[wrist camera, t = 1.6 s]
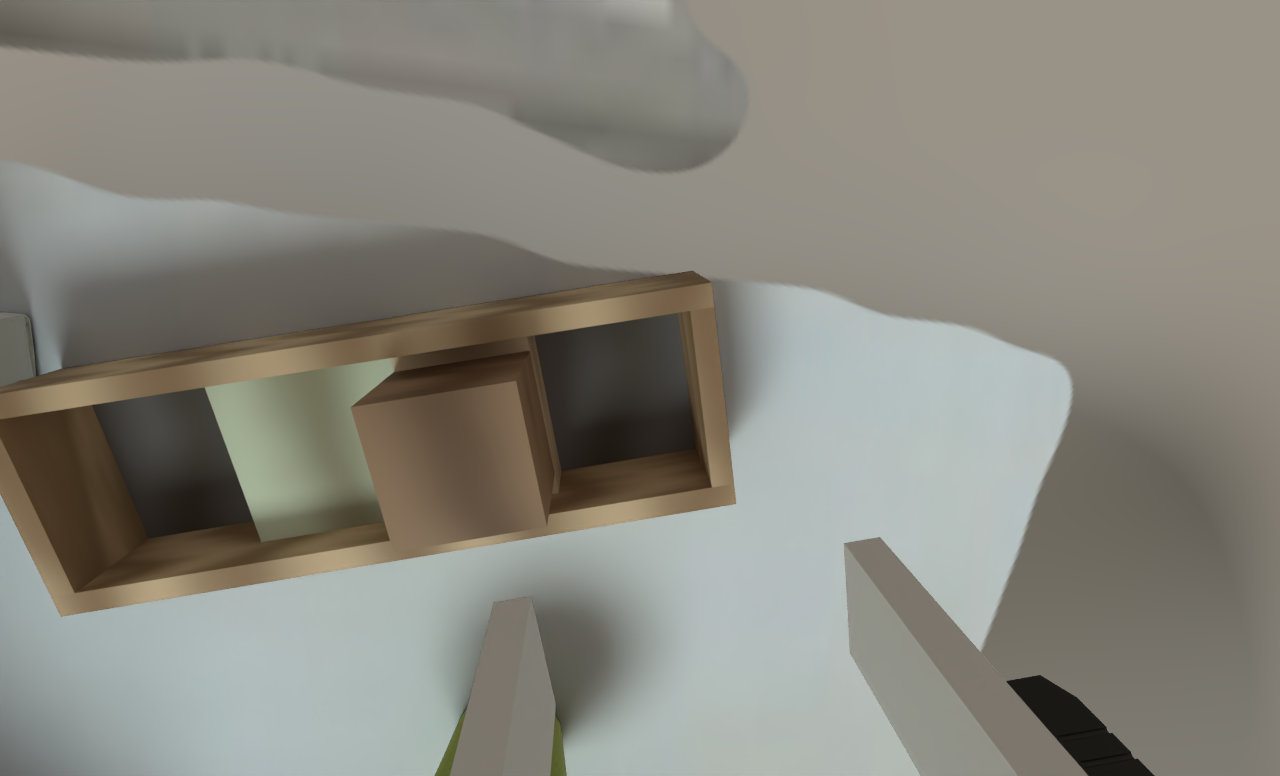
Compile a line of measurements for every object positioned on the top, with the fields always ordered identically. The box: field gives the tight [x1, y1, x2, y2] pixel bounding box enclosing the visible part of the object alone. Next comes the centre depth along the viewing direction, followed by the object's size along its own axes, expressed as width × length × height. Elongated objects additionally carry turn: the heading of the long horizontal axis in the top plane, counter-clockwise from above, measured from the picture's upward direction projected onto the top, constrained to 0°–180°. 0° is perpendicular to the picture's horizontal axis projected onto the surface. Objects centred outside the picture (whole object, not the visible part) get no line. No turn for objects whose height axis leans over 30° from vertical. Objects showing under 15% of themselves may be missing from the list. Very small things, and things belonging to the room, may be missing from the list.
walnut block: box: [350, 351, 555, 552], centre depth 25 cm, size 6×6×5 cm
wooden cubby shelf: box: [0, 271, 736, 616], centre depth 28 cm, size 30×10×5 cm, turn 98°
